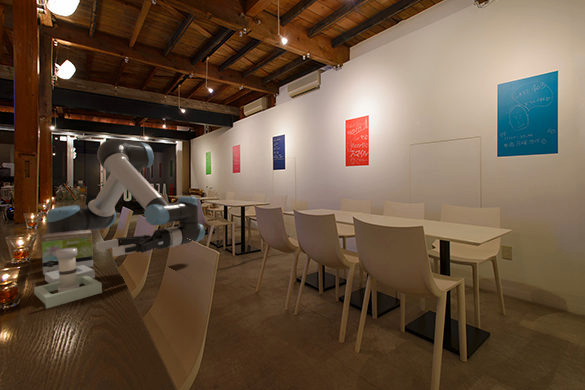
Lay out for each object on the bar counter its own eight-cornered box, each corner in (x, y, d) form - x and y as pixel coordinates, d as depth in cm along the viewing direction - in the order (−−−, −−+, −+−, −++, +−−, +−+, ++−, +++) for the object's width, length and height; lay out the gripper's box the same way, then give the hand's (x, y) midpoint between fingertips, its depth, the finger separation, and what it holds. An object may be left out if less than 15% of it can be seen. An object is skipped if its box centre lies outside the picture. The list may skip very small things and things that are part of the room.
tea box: (42, 277, 100) (40, 237, 99) (44, 271, 107) (41, 233, 107) (94, 268, 109) (91, 231, 108) (92, 263, 117) (90, 228, 116)
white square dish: (45, 283, 94) (44, 273, 94) (84, 274, 103) (83, 264, 102) (54, 290, 87) (53, 279, 87) (95, 279, 96) (94, 270, 96)
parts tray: (34, 297, 82) (34, 287, 82) (87, 283, 92) (86, 275, 92) (46, 308, 74) (45, 297, 74) (101, 292, 85) (101, 282, 84)
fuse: (56, 293, 83) (53, 250, 82) (76, 287, 87) (74, 246, 86) (61, 297, 80) (58, 252, 79) (81, 291, 84) (79, 249, 83)
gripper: (184, 252, 101) (121, 267, 84) (151, 243, 116) (91, 254, 99) (184, 231, 100) (119, 242, 83) (150, 225, 115) (90, 233, 98)
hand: (104, 249), depth 91 cm, fingers open, 13 cm apart
